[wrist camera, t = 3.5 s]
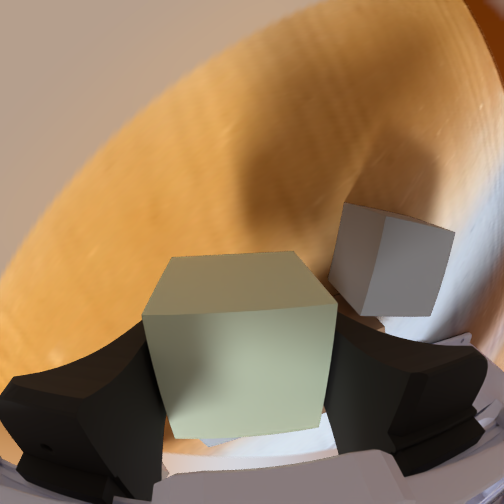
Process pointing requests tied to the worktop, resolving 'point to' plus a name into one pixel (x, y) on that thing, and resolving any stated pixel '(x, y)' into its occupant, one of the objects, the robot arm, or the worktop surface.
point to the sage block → (240, 344)
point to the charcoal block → (389, 262)
